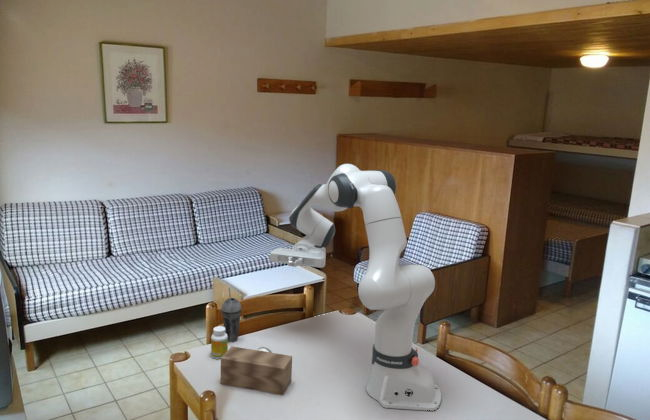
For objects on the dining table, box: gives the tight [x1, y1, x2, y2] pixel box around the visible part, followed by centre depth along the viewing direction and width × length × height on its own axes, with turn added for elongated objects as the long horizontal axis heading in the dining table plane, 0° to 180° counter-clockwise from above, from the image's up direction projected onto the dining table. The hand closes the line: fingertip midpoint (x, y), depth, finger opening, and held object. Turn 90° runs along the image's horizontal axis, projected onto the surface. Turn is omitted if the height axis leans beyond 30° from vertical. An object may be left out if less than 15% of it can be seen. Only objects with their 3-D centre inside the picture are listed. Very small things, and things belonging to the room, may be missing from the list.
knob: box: [257, 346, 273, 353], centre depth 154 cm, size 5×9×5 cm, turn 166°
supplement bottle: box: [210, 325, 229, 360], centre depth 167 cm, size 5×5×10 cm
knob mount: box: [220, 345, 293, 396], centre depth 152 cm, size 20×8×8 cm, turn 76°
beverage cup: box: [221, 287, 243, 343], centre depth 178 cm, size 7×7×20 cm
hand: (291, 264), depth 172 cm, fingers closed
